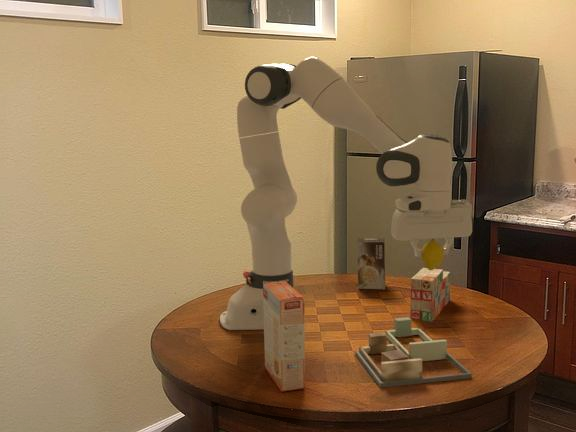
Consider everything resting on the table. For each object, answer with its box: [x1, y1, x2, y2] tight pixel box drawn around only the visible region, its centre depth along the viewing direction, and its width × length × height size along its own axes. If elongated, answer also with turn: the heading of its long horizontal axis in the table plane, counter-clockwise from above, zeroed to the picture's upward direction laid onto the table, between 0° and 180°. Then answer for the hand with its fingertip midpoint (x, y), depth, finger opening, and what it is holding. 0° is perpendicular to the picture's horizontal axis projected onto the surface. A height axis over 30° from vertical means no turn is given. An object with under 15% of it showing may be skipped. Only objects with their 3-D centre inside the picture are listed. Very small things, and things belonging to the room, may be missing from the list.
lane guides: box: [354, 350, 473, 388], centre depth 148 cm, size 21×19×1 cm
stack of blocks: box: [409, 267, 451, 323], centre depth 187 cm, size 21×6×12 cm, turn 152°
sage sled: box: [385, 316, 448, 362], centre depth 159 cm, size 9×18×4 cm, turn 11°
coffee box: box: [356, 237, 386, 290], centre depth 210 cm, size 9×6×16 cm
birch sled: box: [358, 332, 423, 382], centre depth 148 cm, size 9×18×4 cm, turn 11°
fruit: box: [420, 239, 445, 270], centre depth 157 cm, size 6×6×8 cm
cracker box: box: [263, 281, 306, 393], centre depth 141 cm, size 14×6×21 cm, turn 17°
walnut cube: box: [380, 350, 409, 363], centre depth 145 cm, size 4×4×4 cm
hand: (431, 255), depth 158 cm, fingers closed on fruit, 5 cm apart
